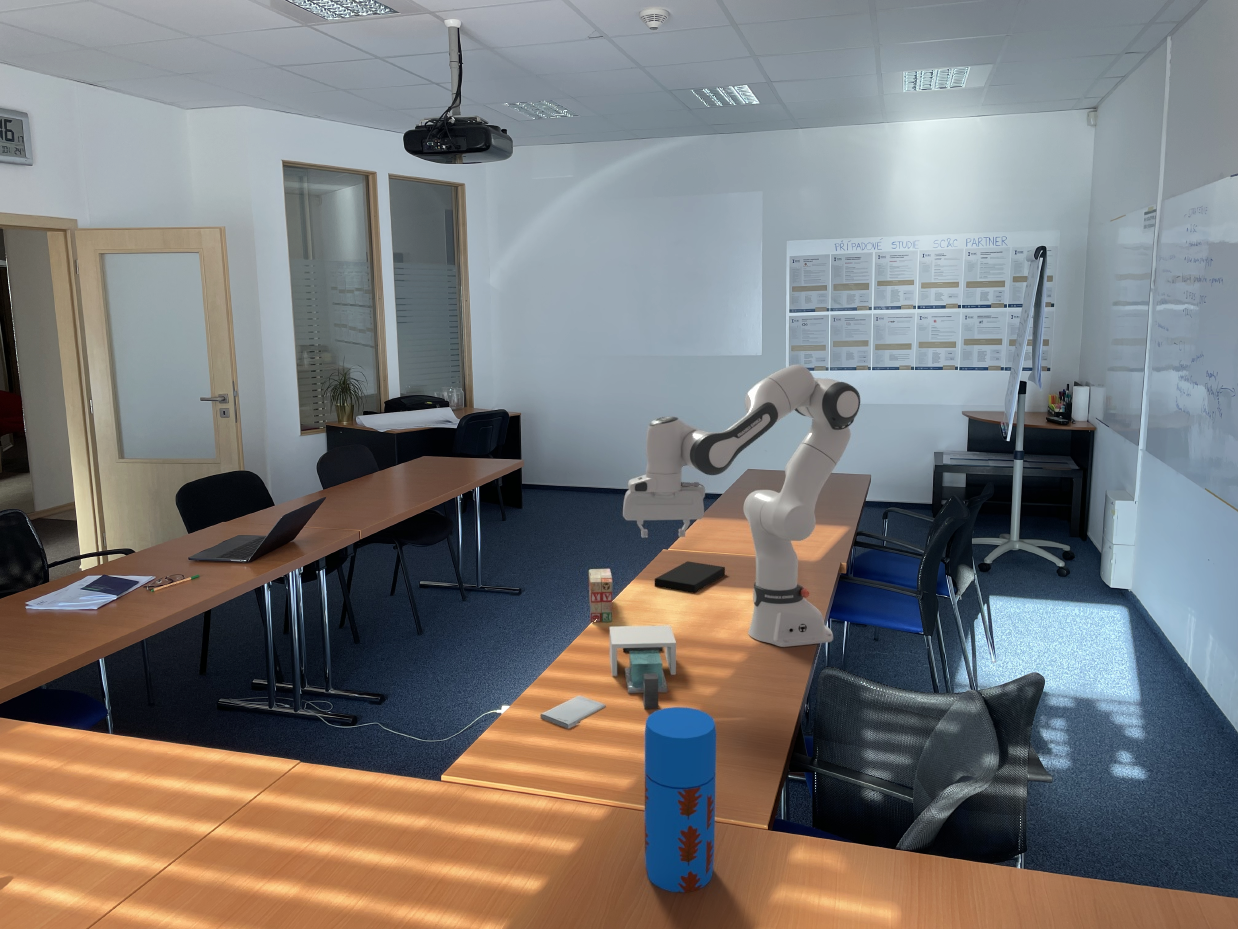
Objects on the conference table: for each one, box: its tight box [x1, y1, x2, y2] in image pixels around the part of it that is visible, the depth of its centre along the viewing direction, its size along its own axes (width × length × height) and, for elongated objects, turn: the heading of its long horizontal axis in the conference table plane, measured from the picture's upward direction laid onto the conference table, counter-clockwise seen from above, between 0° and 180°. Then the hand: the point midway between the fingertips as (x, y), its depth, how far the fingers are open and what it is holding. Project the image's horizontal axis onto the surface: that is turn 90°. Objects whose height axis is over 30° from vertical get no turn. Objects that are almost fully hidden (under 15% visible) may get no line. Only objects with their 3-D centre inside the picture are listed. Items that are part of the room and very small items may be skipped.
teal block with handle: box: [624, 650, 668, 710], centre depth 204 cm, size 9×20×7 cm, turn 3°
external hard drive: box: [654, 561, 726, 594], centre depth 289 cm, size 14×23×3 cm, turn 149°
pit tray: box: [622, 647, 663, 653], centre depth 230 cm, size 10×5×2 cm, turn 93°
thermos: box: [644, 706, 717, 893], centre depth 137 cm, size 11×11×25 cm
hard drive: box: [540, 695, 606, 730], centre depth 193 cm, size 2×8×12 cm
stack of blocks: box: [588, 568, 613, 623], centre depth 260 cm, size 21×6×12 cm, turn 3°
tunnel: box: [609, 624, 677, 677], centre depth 218 cm, size 15×12×8 cm
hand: (663, 536), depth 221 cm, fingers open, 8 cm apart
